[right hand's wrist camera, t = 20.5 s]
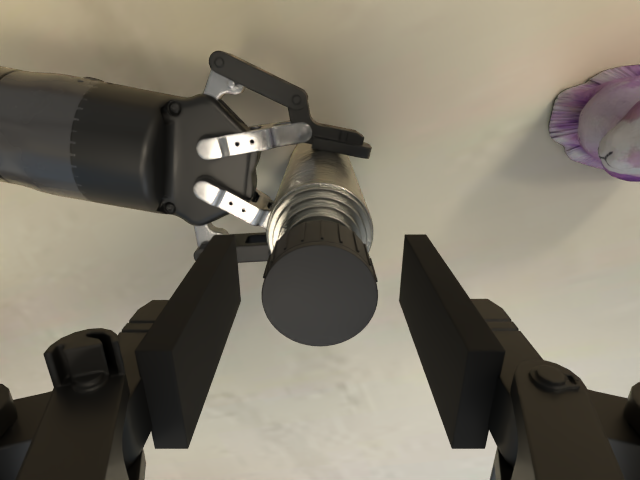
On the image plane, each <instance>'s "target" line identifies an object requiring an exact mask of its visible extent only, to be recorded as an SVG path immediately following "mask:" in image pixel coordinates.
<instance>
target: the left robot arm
mask: <svg viewBox="0 0 640 480" xmlns="http://www.w3.org/2000/svg"><path fill="white" fill-rule="evenodd" d="M209 65H210V67H211V72H210V75H209V78H208V81H207V84H206V87H205V90H204V93H203V94H198V95H195V96H193V97H189V98H186V97H179V96H174V95H169V94H163V93H158V92H153V91H148V90H143V89H138V88H133V87H127V86H122V85H117V84H112V83H106V82H104V81H102V80H99V79H95V78H91V77H84V78H81V77H76V76H70V75H64V74H56V73H38V72H28V71H22V70H18V69H12V68H7V67H2V66H0V182H5V183H11V184H17V185H21V186H25V187H29V188H32V189H35V190H38V191H41V192H45V193H48V194H53V195H58V196H62V197H68V198H74V199H80V200H85V201H91V202H97V203H103V204H108V205H114V206H120V207H126V208H131V209H137V210H143V211H149V212H154V213H161V214H172V215H176V216H178V217H180V218H182V219H183V220H185V221H186V222H188V223H189V224H191V225H194V228H195V233H196V239H197V244H198V248H197V250H196V251H195V253H194V259H195V261H196V260H197V259H198V257H199V256H200V254H201V253H202V251H203V250H204V248H205V247H206V246H207V244H208V243H209V241H210V240H211V238H212V237H213V235H235V239H236V250H237V262H238V263H242V262H260V261H268V258H269V255H271V252H270V249H269V246H268V243H267V237H266V232H264V233H247V234H229V233H228V232H227V230H225V229H223V228H217V227H215V226H214V225H213V224H212V223H211V222H213V221H215V220H217V219H219V218H221V217H224V216H226V215H228V214H232V215H234V216H236V217H238V218H240V219H242V220H244V221H245V222H247V223H249V224H251V225H254V226H261V227H263V228H265V229H266V227H267V221H268V217H269V214H270V212H271V209H272V206H273V204H274V201H273V200H271V198H270V197H269V196H267V195H266V194H264V193H262V192H260V191H259V190H257V189H256V186H257V175H256V166H257V164H258V162H259V159H260V155H261V151H262V150H268V149H272V148H275V147H280V146H286V145H292V144H298V143H307V144H312V147H311V148H312V149H317V150H323V151H329V152H333V153H338V154H344V155H349V156H354V157H360V158H366V159H369V157H370V152H371V148H372V147H371V146H370V145H369V144H368V143H364V142H363V141H364V137H363V135H362V134H360V133H359V132H357V131H356V130H352V129H346V128H341V127H336V126H331V125H326V124H321V123H317V122H316V121H314V120H313V119H312V117H311V115H310V111H309V105H308V95H307V93H306V91H305V90H303V89H301V88H299V87H297V86H295V85H293V84H291V83H289V82H287V81H285V80H283V79H281V78H279V77H277V76H275V75H273V74H271V73H269V72H267V71H265V70H263V69H261V68H259V67H257V66H254V65H252V64H250V63H248V62H246V61H244V60H242V59H240V58H238V57H236V56H234V55H232V54H229V53H226V52H222V51H215V52H213V53H212V54H211V56H210V58H209ZM245 88H248V89H251V90H253V91H255V92H257V93H259V94H261V95H263V96H265V97H267V98H269V99H271V100H273V101H276V102H278V103H280V104H282V105H284V106H286V107H288V111H289V116H290V121H285V122H279V123H269V124H263V125H257V126H251V127H248V126H247V125H246V124H245V123H244V122H243V121H242V120H241V119H240V118H239V117H238V116H237V115H236V114H235V113H234V112H233V111H232V110H231V109H230V108H229V107H228V106H227V105H226V104H225V103H224V102H223V101H222V100H221V99H222V97H223V96H224V95H225V94H226V93H229V94H233V95H236V94H240V93H242V92H243V91H244V90H245ZM252 197H253V198H252ZM244 209H245V210H244Z"/></svg>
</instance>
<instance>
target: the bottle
mask: <svg viewBox="0 0 640 480" xmlns="http://www.w3.org/2000/svg"><path fill="white" fill-rule="evenodd" d="M311 147H312V144H307V143H298V145H297V146H296V147H295V149H294V151H293V153H292V155H291V158H290V161H289V163H288V166H287V169H286V172H285V174H284V177H283V180H282V182H281V185H280V188H279V190H278V193H277V196H276V198H275V201H274V204H273V206H272V209H271V212H270V214H269V217H268V221H267V227H266V237H267V243H268V246H269V249H270V252H271V254H272V251H273V249H274V246H275V242H276V241H278V240H279V239H280V238H281V237H282V235H283V234H285V233H286V232H287V230H288V229H291V228H293V227H295V226H297V225H299V224H302V223H303V222H309V221H317V220H323V221H331V222H335V223H340V224H341V225H343V226H345V227H347V228H348V229H350V230H351V231H354V232H355V233H356V235H357V236H358V237H359V238H360V239H361V241H362V242H363V244H364V243H365V244H366V247H367V250H368V253H369V251H370V248H371V245H372V241H373V223H372V219H371V216H370V213H369V211H368V208H367V205H366V202H365V200H364V197H363V194H362V192H361V189H360V186H359V184H358V181H357V178H356V176H355V173H354V170H353V168H352V165H351V162H350V160H349V157H348V155H344V154H338V153H333V152H329V151H323V150H317V149H312V148H311Z"/></svg>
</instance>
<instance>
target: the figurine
mask: <svg viewBox="0 0 640 480" xmlns="http://www.w3.org/2000/svg"><path fill="white" fill-rule="evenodd" d="M553 109H554V110H553V111H552V112H553V113H552V114H551V115H552V117H551V121H550V124H549V127H550V129H549V131H550V136H551V138H552V139H553V140H554V141H556V142H557V143H559V144H561V145H563V146H564V148H565V153H566V154H567V155H568V157H569V158H570V159H571V160H573V161H576V162H579V163H582V164H585V165H589V166H592V167H596V168H600V169H604V170H605V171H606V172H607V173H608V174H610V175H611V176H613V177H616V178H619V179H622V180H626V181H635V182H640V65H632V66H622V67H617V68H613V69H608V70H605V71H602V72H601V73H599V74H598V75H596V76H594V77H592V78H591V79H590V80H589V81H587V82H586V83H585V84H581V85H578V86H575V87H571V88H569V89H566V90H564V91H563V92H561V93H560V94H559V95H558V97H557V99H556V100H555V103H554V107H553Z"/></svg>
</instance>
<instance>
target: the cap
mask: <svg viewBox="0 0 640 480" xmlns="http://www.w3.org/2000/svg"><path fill="white" fill-rule="evenodd" d="M263 278H265V279H264V283H263V287H262V304H263V308H264V311H265V313H266V315H267V318H268V319H269V321H270V322H271V324H272V325H273V326H274V327H275V328H276V329H277V330H278V331H279V332H280V333H281V334H283V335H284V336H286V337H287V338H289V339H291V340H293V341H295V342H298V343H301V344H305V345H310V346H329V345H335V344H338V343H342V342H344V341H346V340H349V339H350V338H352V337H354V336H355V335H357V334H358V333H359V332H361V331H362V330H363V329H364V328H365V327H366V325H367V324H368V323H369V322H370V320H371V318H372V317H373V314H374V312H375V310H376V306H377V301H378V290H377V284H376V282H377V277H376V274H375V270H374V267H373V264H372V260H371V258H369V254H368V250H367V247H366V244H365V243H364V244H363V242H362V241H361V239H360V238H359V237H358V236H357V235H356V233H355V232H354V231H351V230H350V229H348V228H347V227H345V226H343V225H341V224H340V223H335V222H331V221H323V220H317V221H309V222H303V223H302V224H299V225H297V226H295V227H293V228H291V229H288V230H287V232H286V233H285V234H283V235H282V237H281V238H280V239H279V240H278V241H276V242H275V246H274V249H273V251H272V254H271V255H269V258H268V261H267V265H266V268H265V272H264V275H263Z"/></svg>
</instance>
